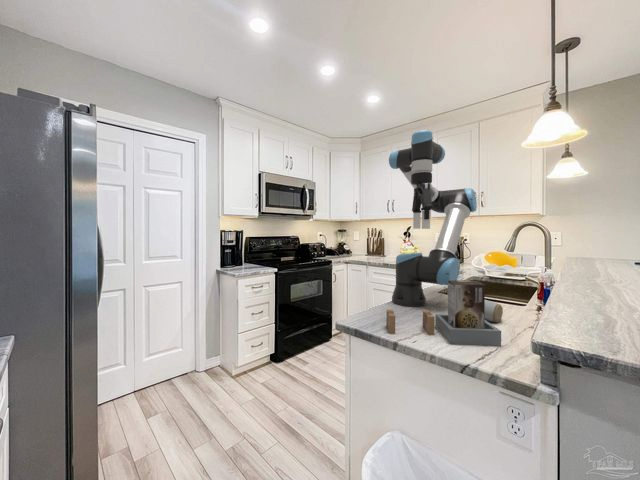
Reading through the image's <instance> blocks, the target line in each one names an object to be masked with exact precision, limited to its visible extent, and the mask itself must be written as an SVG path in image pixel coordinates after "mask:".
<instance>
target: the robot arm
mask: <svg viewBox="0 0 640 480" xmlns="http://www.w3.org/2000/svg"><path fill="white" fill-rule="evenodd" d="M433 139H434V137H433V132H432V131H431V130H429V129H428V130H427V129H424V130H417V131H415V132H414V133H412V135H411V141H410V146H411V147H408V148H403V149H398V150H395V151H392V152H390V154H389V157H388V164H389V167H390V168H391V169H392V170H397V169H398V170H399V171H401V173H402V174H403V175H404V177H405V178H406V179H407V181H408V182H409V184H410V185H411V186H412V188H413V198H412V206H411V207H412V209H411V212H412V215H413V216H412V218H413V219H412V220H413V221H412V224H413V225H412V227H413V228H412V229H415V230H416V229H417V230H419V229H423V230H424V229H425V230H428V229H431V211H432V212H435V213H439V214H445V217H444V220H443V223H442V226H441V229H440V232H439V236H438V238H437V242H436V244H435V247H434V249H431V250H430V251H429V254H428V256H424V255H423V253H422V252H411V253H402V254H398V255H397V256H396V258H395V287H394V290H393V292H392V296H391V302H392V304H395V305H398V306H403V307H423V306H425V305H426V303H427V302H426V301H427V299H426V296H425V293H424V289H423V286H422V285H423V283H426V284H436V285H439V286H448V280H458V278H459V276H460V270H461V262H460V260H459V259H458V257H457V255H456V252H457V248H458V244H459V241H460V237H461V235H462V231H463V227H464V223H465V220H466V219H467V218H469V216H470V215H471V213H474V212H476V211H477V209H478V207H477V206H478V204H477V203H478V202H477V196H476V192H475V190H474V188H470V187H469V188H459V189H458V188H457V189H448V190H438V189H437V188H436V187H435V186H433V184H432V182H433V173H432V172H433V165H436V164H439V163H441V162H442V161H443V160H444V159H445V156H446V150H445V148H444V147H443V146H442V145H441V144H438V143H436V142H435V141H434V140H433Z"/></svg>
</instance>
